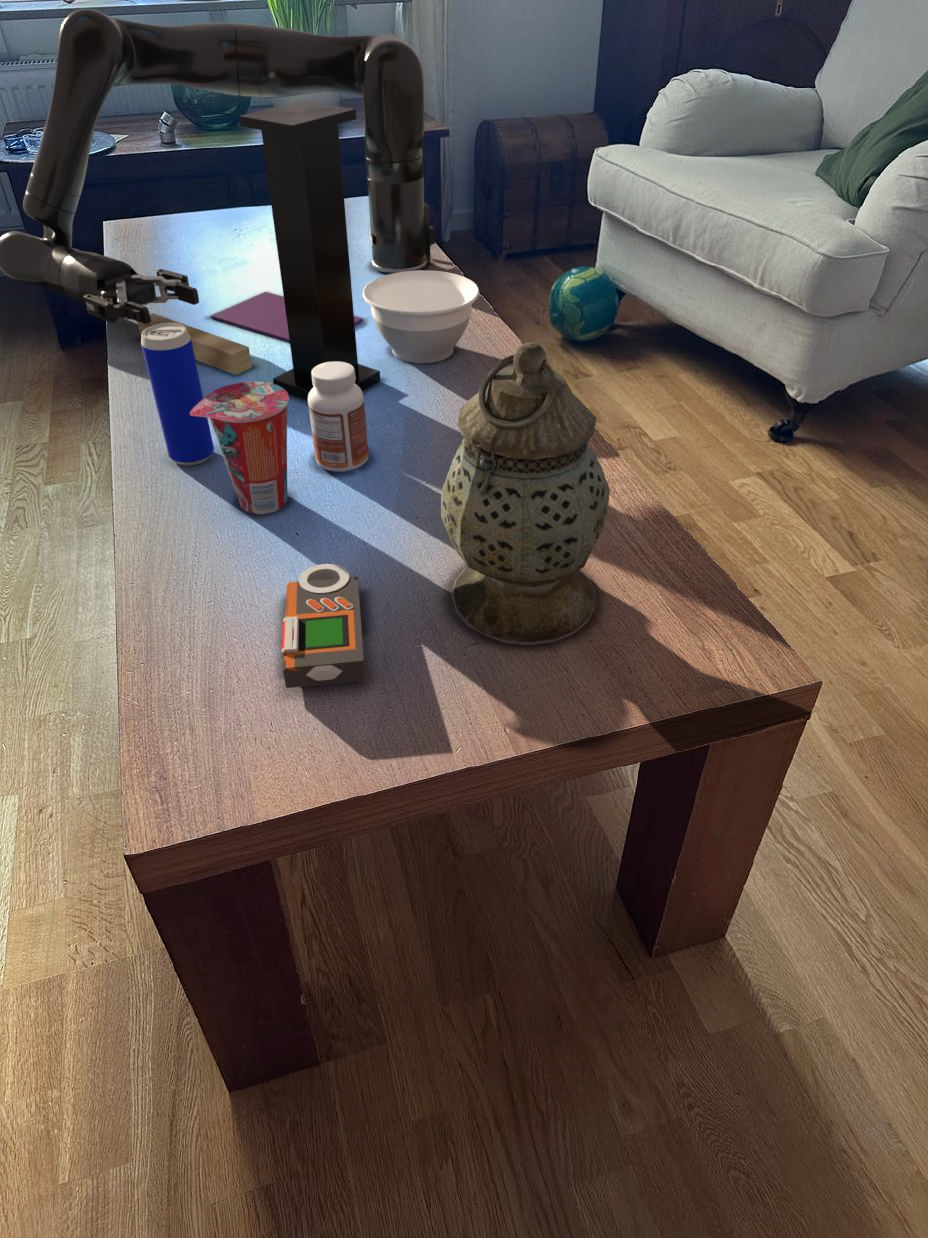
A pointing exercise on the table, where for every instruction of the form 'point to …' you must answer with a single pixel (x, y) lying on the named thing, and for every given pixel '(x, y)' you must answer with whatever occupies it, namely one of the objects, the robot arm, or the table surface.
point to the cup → (251, 440)
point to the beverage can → (177, 392)
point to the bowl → (421, 312)
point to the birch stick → (211, 347)
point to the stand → (311, 237)
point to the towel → (261, 315)
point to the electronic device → (323, 628)
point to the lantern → (524, 504)
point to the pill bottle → (337, 417)
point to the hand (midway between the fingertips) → (172, 306)
